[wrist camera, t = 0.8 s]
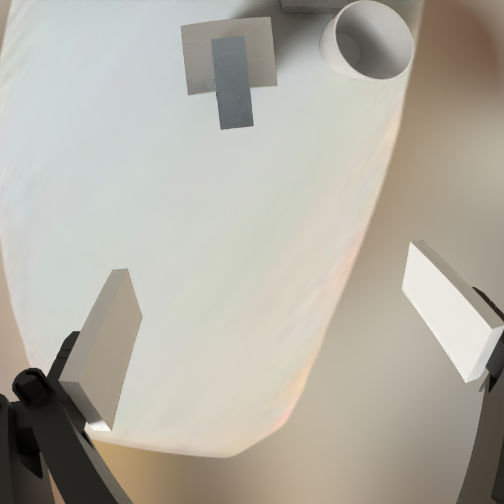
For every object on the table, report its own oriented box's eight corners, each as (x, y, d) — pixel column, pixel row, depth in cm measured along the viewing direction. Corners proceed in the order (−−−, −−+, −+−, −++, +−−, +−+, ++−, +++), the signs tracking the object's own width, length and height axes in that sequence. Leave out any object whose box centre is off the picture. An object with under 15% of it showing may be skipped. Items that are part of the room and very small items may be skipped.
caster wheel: (194, 39, 30) (175, 9, 18) (257, 33, 30) (272, -1, 18) (203, 122, 34) (189, 133, 22) (265, 115, 35) (284, 123, 23)
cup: (368, 23, 30) (408, 6, 21) (374, 84, 33) (417, 84, 24) (303, 20, 29) (327, -4, 21) (310, 84, 33) (338, 80, 24)
